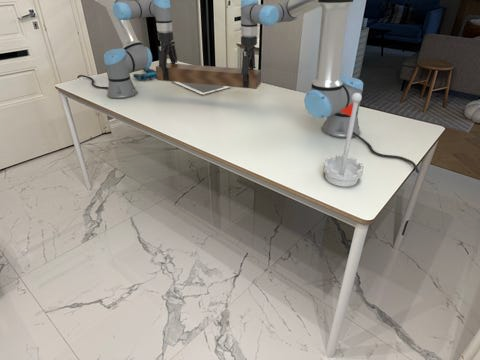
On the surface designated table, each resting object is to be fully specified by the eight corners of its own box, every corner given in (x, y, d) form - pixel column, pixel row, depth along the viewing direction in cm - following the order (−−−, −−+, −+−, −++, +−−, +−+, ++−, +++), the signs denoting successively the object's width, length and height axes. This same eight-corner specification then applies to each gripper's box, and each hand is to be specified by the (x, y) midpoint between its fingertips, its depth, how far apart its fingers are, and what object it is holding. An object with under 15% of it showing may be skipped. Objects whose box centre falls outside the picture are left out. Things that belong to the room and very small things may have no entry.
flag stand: (345, 165, 124) (361, 84, 108) (368, 183, 114) (390, 97, 98) (314, 171, 121) (326, 88, 104) (336, 191, 110) (352, 103, 94)
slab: (260, 83, 171) (261, 70, 167) (256, 89, 164) (256, 74, 160) (164, 75, 184) (163, 62, 180) (157, 80, 177) (155, 66, 173)
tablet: (172, 82, 209) (172, 81, 209) (199, 75, 220) (199, 75, 220) (202, 95, 189) (202, 94, 188) (230, 87, 200) (230, 87, 200)
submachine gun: (171, 61, 241) (190, 66, 224) (171, 66, 243) (190, 72, 226) (125, 69, 222) (142, 76, 205) (126, 75, 224) (143, 82, 207)
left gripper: (168, 27, 176) (172, 71, 188) (147, 35, 159) (153, 83, 171) (181, 28, 174) (185, 72, 186) (161, 36, 157) (167, 84, 169)
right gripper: (247, 31, 165) (246, 77, 178) (234, 39, 148) (234, 90, 161) (262, 32, 164) (260, 78, 176) (250, 40, 146) (249, 91, 159)
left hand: (170, 77), depth 179 cm, fingers closed on slab, 8 cm apart
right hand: (248, 84), depth 168 cm, fingers closed on slab, 8 cm apart
